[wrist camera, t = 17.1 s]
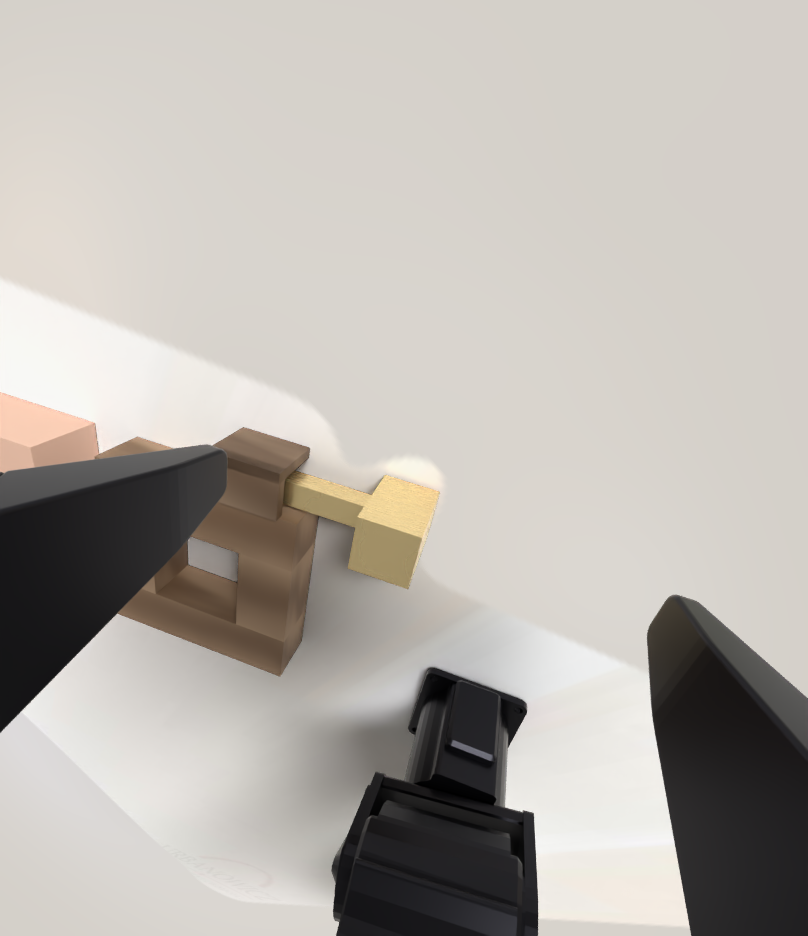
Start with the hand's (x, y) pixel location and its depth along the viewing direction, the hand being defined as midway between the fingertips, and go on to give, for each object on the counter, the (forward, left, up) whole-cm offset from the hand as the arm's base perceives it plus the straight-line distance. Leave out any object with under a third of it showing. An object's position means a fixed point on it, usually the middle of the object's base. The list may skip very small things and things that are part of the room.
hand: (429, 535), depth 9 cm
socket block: (-14, +13, -13) cm, 23 cm away
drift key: (-8, +6, -13) cm, 16 cm away
